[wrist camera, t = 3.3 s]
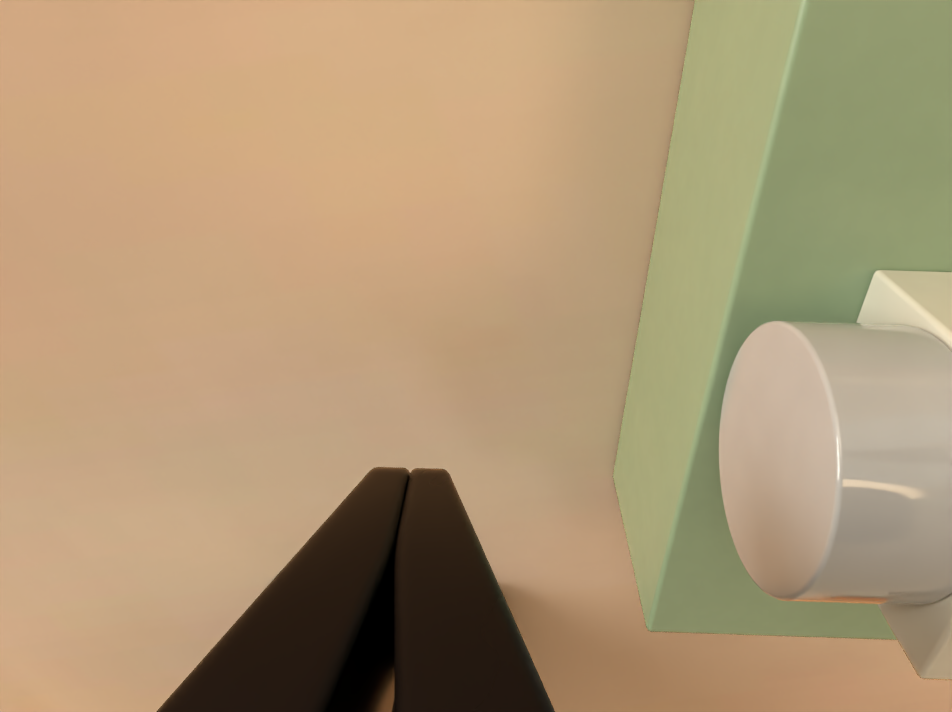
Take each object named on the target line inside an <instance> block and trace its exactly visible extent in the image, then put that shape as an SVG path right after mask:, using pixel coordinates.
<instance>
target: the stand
mask: <svg viewBox="0 0 952 712" xmlns="http://www.w3.org/2000/svg"><path fill="white" fill-rule="evenodd" d="M877 270H896V271H928V272H952V0H695V3H694V8H693V14H692V20H691V26H690V32H689V37H688V43H687V49H686V55H685V60H684V66H683V72H682V78H681V84H680V89H679V95H678V101H677V107H676V113H675V118H674V124H673V130H672V136H671V142H670V147H669V153H668V159H667V165H666V171H665V176H664V182H663V188H662V194H661V200H660V205H659V211H658V217H657V223H656V229H655V234H654V240H653V246H652V252H651V258H650V263H649V269H648V275H647V281H646V287H645V292H644V298H643V304H642V310H641V316H640V321H639V327H638V333H637V339H636V345H635V350H634V356H633V362H632V368H631V374H630V379H629V385H628V391H627V397H626V403H625V408H624V414H623V420H622V426H621V432H620V437H619V443H618V449H617V455H616V460H615V466H614V472H613V480H614V484H615V489H616V493H617V497H618V502H619V506H620V511H621V515H622V520H623V524H624V529H625V533H626V538H627V542H628V547H629V551H630V556H631V560H632V565H633V569H634V574H635V578H636V583H637V587H638V592H639V596H640V601H641V605H642V610H643V614H644V619H645V623H646V627H647V629H648V631H651V632H677V633H707V634H737V635H767V636H797V637H827V638H857V639H887V640H897V638H896V637H895V635H894V633H893V632H892V630H891V628H890V626H889V625H888V623H887V621H886V619H885V618H884V616H883V614H882V612H881V611H880V609H879V607H878V605H877V604H855V603H825V602H795V601H782V600H778V599H776V598H774V597H771V596H769V595H768V594H766V593H765V592H764V591H762V590H761V589H760V588H759V587H758V586H757V585H756V584H755V583H754V581H753V580H752V578H751V577H750V576H749V574H748V573H747V571H746V569H745V567H744V566H743V564H742V562H741V560H740V557H739V555H738V553H737V551H736V548H735V545H734V542H733V540H732V536H731V533H730V529H729V526H728V522H727V518H726V513H725V509H724V503H723V497H722V490H721V482H720V469H719V431H720V418H721V410H722V404H723V398H724V393H725V388H726V384H727V380H728V377H729V373H730V370H731V367H732V365H733V362H734V359H735V357H736V355H737V353H738V351H739V349H740V347H741V346H742V344H743V342H744V341H745V339H746V338H747V337H748V336H749V335H750V333H751V332H752V331H753V330H755V329H756V328H757V327H758V326H760V325H762V324H764V323H766V322H769V321H774V320H790V321H822V322H855V323H856V320H857V318H858V315H859V312H860V309H861V307H862V304H863V301H864V299H865V296H866V293H867V290H868V288H869V285H870V282H871V279H872V277H873V274H874V272H875V271H877Z"/></svg>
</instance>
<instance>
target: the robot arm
mask: <svg viewBox="0 0 952 712" xmlns="http://www.w3.org/2000/svg"><path fill="white" fill-rule="evenodd" d="M157 712H555V711H554V708H553V706H552V704H551V702H550V699H549V697H548V695H547V693H546V690H545V688H544V686H543V684H542V681H541V679H540V677H539V675H538V672H537V670H536V668H535V666H534V663H533V661H532V659H531V657H530V654H529V652H528V650H527V648H526V645H525V643H524V641H523V639H522V636H521V634H520V632H519V630H518V627H517V625H516V623H515V621H514V618H513V616H512V614H511V612H510V609H509V607H508V605H507V603H506V600H505V598H504V596H503V594H502V591H501V589H500V587H499V585H498V582H497V580H496V578H495V576H494V573H493V571H492V569H491V567H490V564H489V562H488V560H487V558H486V555H485V553H484V551H483V549H482V546H481V544H480V542H479V540H478V537H477V535H476V533H475V531H474V528H473V526H472V524H471V522H470V519H469V517H468V515H467V513H466V510H465V508H464V506H463V504H462V501H461V499H460V497H459V495H458V492H457V490H456V488H455V486H454V483H453V481H452V479H451V477H450V475H449V473H448V472H447V471H446V470H444V469H427V468H416V469H414V470H412V472H411V473H409V471H408V470H407V469H406V468H392V467H376V468H374V469H372V470H371V471H370V472H369V473H368V474H367V475H366V476H365V477H364V478H363V479H362V481H361V482H360V483H359V484H358V485H357V486H356V487H355V488H354V490H353V491H352V492H351V493H350V494H349V495H348V496H347V497H346V499H345V500H344V501H343V502H342V503H341V504H340V505H339V506H338V508H337V509H336V510H335V511H334V512H333V513H332V514H331V515H330V517H329V518H328V519H327V520H326V521H325V522H324V523H323V525H322V526H321V527H320V528H319V529H318V530H317V531H316V532H315V534H314V535H313V536H312V537H311V538H310V539H309V540H308V541H307V543H306V544H305V545H304V546H303V547H302V548H301V549H300V550H299V552H298V553H297V554H296V555H295V556H294V557H293V558H292V559H291V561H290V562H289V563H288V564H287V565H286V566H285V567H284V568H283V570H282V571H281V572H280V573H279V574H278V575H277V576H276V578H275V579H274V580H273V581H272V582H271V583H270V584H269V585H268V587H267V588H266V589H265V590H264V591H263V592H262V593H261V594H260V596H259V597H258V598H257V599H256V600H255V601H254V602H253V603H252V605H251V606H250V607H249V608H248V609H247V610H246V611H245V612H244V614H243V615H242V616H241V617H240V618H239V619H238V620H237V621H236V623H235V624H234V625H233V626H232V627H231V628H230V629H229V631H228V632H227V633H226V634H225V635H224V636H223V637H222V638H221V640H220V641H219V642H218V643H217V644H216V645H215V646H214V647H213V649H212V650H211V651H210V652H209V653H208V654H207V655H206V656H205V658H204V659H203V660H202V661H201V662H200V663H199V664H198V665H197V667H196V668H195V669H194V670H193V671H192V672H191V673H190V674H189V676H188V677H187V678H186V679H185V680H184V681H183V682H182V684H181V685H180V686H179V687H178V688H177V689H176V690H175V691H174V693H173V694H172V695H171V696H170V697H169V698H168V699H167V700H166V702H165V703H164V704H163V705H162V706H161V707H160V708H159V709H158V711H157Z"/></svg>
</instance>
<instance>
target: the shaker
mask: <svg viewBox="0 0 952 712" xmlns="http://www.w3.org/2000/svg"><path fill="white" fill-rule="evenodd" d="M719 469H720V482H721V490H722V497H723V503H724V509H725V513H726V518H727V522H728V526H729V529H730V533H731V536H732V540H733V542H734V545H735V548H736V551H737V553H738V555H739V557H740V560H741V562H742V564H743V566H744V567H745V569H746V571H747V573H748V574H749V576H750V577H751V578H752V580H753V581H754V583H755V584H756V585H757V586H758V587H759V588H760V589H761V590H762V591H764V592H765V593H766V594H768V595H769V596H771V597H774V598H776V599H778V600H782V601H795V602H825V603H855V604H877V605H878V607H879V609H880V611H881V612H882V614H883V616H884V618H885V619H886V621H887V623H888V625H889V626H890V628H891V630H892V632H893V633H894V635H895V637H896V638H897V640H898V642H899V644H900V645H901V647H902V649H903V651H904V652H905V654H906V656H907V658H908V659H909V661H910V663H911V664H912V666H913V668H914V670H915V671H916V673H917V675H918V676H919V677H920V678H922V679H936V680H952V272H928V271H896V270H877V271H875V272H874V274H873V277H872V279H871V282H870V285H869V288H868V290H867V293H866V296H865V299H864V301H863V304H862V307H861V309H860V312H859V315H858V318H857V320H856V323H855V322H822V321H790V320H774V321H769V322H766V323H764V324H762V325H760V326H758V327H757V328H756V329H755V330H753V331H752V332H751V333H750V335H749V336H748V337H747V338H746V339H745V341H744V342H743V344H742V346H741V347H740V349H739V351H738V353H737V355H736V357H735V359H734V362H733V365H732V367H731V370H730V373H729V377H728V380H727V384H726V388H725V393H724V398H723V404H722V410H721V418H720V431H719Z"/></svg>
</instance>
